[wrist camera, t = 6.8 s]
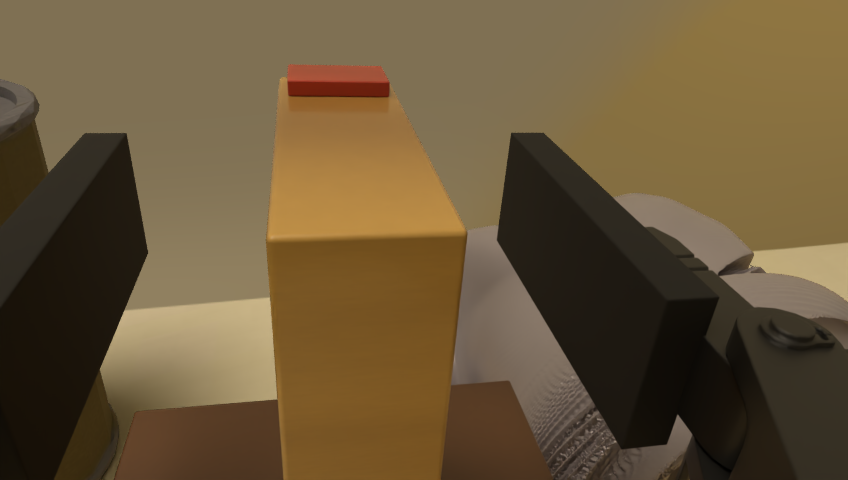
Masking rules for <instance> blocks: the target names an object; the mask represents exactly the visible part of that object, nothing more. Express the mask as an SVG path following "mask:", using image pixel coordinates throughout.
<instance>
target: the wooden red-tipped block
mask: <svg viewBox="0 0 848 480" xmlns="http://www.w3.org/2000/svg"><path fill="white" fill-rule="evenodd" d="M467 235H468V233H467V230H466V228H465V226H464V224H463V222H462V220H461V219H460V217H459V215H458V213H457V211H456V209H455V207H454V205H453V203H452V201H451V199H450V197H449V195H448V194H447V192H446V190H445V188H444V186H443V184H442V182H441V180H440V178H439V176H438V174H437V173H436V171H435V169H434V167H433V165H432V163H431V161H430V159H429V157H428V156H427V154H426V152H425V150H424V148H423V146H422V144H421V142H420V140H419V138H418V136H417V135H416V132H415V131H414V129H413V127H412V125H411V123H410V121H409V119H408V118H407V115H406V113H405V111H404V109H403V107H402V106H401V104H400V102H399V100H398V98H397V96H396V94H395V92H394V90H393V88H392V86H391V85H390V82H389V80H388V78H387V77H386V75H385V73H384V71H383V69H382V67H381V66H335V65H332V66H331V65H288V76H287V77H283V78H280V81H279V91H278V104H277V115H276V127H275V140H274V151H273V163H272V175H271V187H270V198H269V211H268V222H267V234H266V248H267V261H268V275H269V288H270V302H271V316H272V330H273V344H274V357H275V371H276V385H277V399H278V412H279V426H280V440H281V453H282V467H283V480H441V473H442V464H443V455H444V445H445V436H446V427H447V418H448V409H449V400H450V390H451V381H452V372H453V363H454V354H455V345H456V336H457V326H458V317H459V308H460V299H461V290H462V281H463V272H464V262H465V253H466V244H467Z"/></svg>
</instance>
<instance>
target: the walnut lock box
mask: <svg viewBox="0 0 848 480" xmlns="http://www.w3.org/2000/svg"><path fill="white" fill-rule="evenodd" d="M114 480H283V467H282V453H281V440H280V426H279V412H278V400H266V401H254V402H242V403H230V404H218V405H206V406H194V407H182V408H170V409H158V410H147V411H137V412H135V414H134V417H133V420H132V423H131V426H130V429H129V433H128V436H127V439H126V442H125V446H124V449H123V452H122V455H121V458H120V462H119V465H118V468H117V471H116V474H115V478H114ZM441 480H554V479H553V476H552V474H551V472H550V470H549V467H548V465H547V463H546V461H545V459H544V456H543V454H542V452H541V450H540V447H539V445H538V443H537V441H536V438H535V436H534V434H533V432H532V430H531V427H530V425H529V423H528V421H527V418H526V416H525V414H524V412H523V409H522V407H521V405H520V403H519V401H518V398H517V396H516V394H515V392H514V389H513V387H512V385H511V383H510V381H508V380H506V381H494V382H482V383H470V384H458V385H451V390H450V400H449V409H448V418H447V427H446V436H445V445H444V455H443V464H442V473H441Z"/></svg>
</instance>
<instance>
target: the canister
mask: <svg viewBox="0 0 848 480" xmlns="http://www.w3.org/2000/svg"><path fill="white" fill-rule="evenodd" d="M38 111H39V103H38V101H37V99H36V97H35V95H34V93H33V92H31V91H30V90H29V89H27V88H26V87H24V86H22V85H18V84H15V83H12V82H9V81H5V80H2V79H0V227H1V226H2V224H3V223H4V222H5V221H6V220H7V219H8V218H9V217H10V216H11V214H12V213H13V212H14V211H15V210H16V209H17V208H18V207H19V206H20V204H21V203H22V202H23V201H24V200H25V199H26V198H27V197H28V196H29V195H30V193H31V192H32V191H33V190H34V189H35V188H36V187H37V186H38V185H39V183H40V182H41V181H42V180H43V179H44V178H45V177H46V176H47V175H48V169H47V165H46V161H45V157H44V153H43V150H42V146H41V142H40V138H39V135H38V131H37V127H36V123H35V117H36V115H37V113H38ZM118 437H119V425H118V421H117V417H116V414H115V413H114V411H113V409H112V407H111V405H110V404H109V403H108V400H107V396H106V392H105V388H104V384H103V380H102V376H101V373H100V370H99V372H98V375H97V377H96V380H95V382H94V384H93V387H92V389H91V392H90V394H89V396H88V399H87V401H86V404H85V406H84V409H83V411H82V413H81V416H80V418H79V421H78V423H77V425H76V428H75V430H74V433H73V435H72V437H71V440H70V442H69V445H68V447H67V449H66V452H65V454H64V457H63V459H62V462H61V464H60V466H59V469H58V471H57V474H56V476H55V478H54V480H100V479H101V477H102V476H103V474H104V473H105V471H106V470H107V468H108V467H109V465H110V463H111V461H112V459H113V456H114V454H115V452H116V447H117V442H118Z"/></svg>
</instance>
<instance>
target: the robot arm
mask: <svg viewBox="0 0 848 480" xmlns="http://www.w3.org/2000/svg"><path fill="white" fill-rule="evenodd" d="M497 242H498V243H499V245H500V247H501V248H502V250H503V252H504V253H505V255H506V257H507V258H508V260H509V262H510V263H511V265H512V267H513V268H514V270H515V272H516V274H517V275H518V277H519V279H520V280H521V282H522V284H523V285H524V287H525V289H526V290H527V292H528V294H529V295H530V297H531V299H532V300H533V302H534V304H535V305H536V307H537V309H538V310H539V312H540V314H541V315H542V317H543V319H544V320H545V322H546V324H547V325H548V327H549V329H550V331H551V332H552V334H553V336H554V337H555V339H556V341H557V342H558V344H559V346H560V347H561V349H562V351H563V352H564V354H565V356H566V357H567V359H568V361H569V362H570V364H571V366H572V367H573V369H574V371H575V372H576V374H577V376H578V377H579V379H580V381H581V382H582V384H583V386H584V387H585V389H586V391H587V393H588V394H589V396H590V398H591V399H592V401H593V403H594V404H595V406H596V408H597V409H598V411H599V413H600V414H601V416H602V418H603V419H604V421H605V423H606V424H607V426H608V428H609V429H610V431H611V433H612V434H613V436H614V438H615V439H616V441H617V443H618V444H619V446H620V448H621V450H623V449H632V448H641V447H650V446H659V445H667V443H668V440H669V437H670V435H671V432H672V429H673V426H674V423H675V421H676V418H677V415H678V416H679V417H680V418H681V420H682V421H683V422H684V424H685V425H686V426H687V428H688V429H689V430H690V432H691V433H692V437H691V439H690V442H689V445H688V447H687V450H686V452H685V455H684V458H683V460H682V463H681V466H680V468H679V471H678V473H677V476H676V479H675V480H689V479H690V480H848V349H844V347H843V345H842V344H841V343H840V342H839V341H838V339H837V338H836V337H835V336H834V335H833V334H832V333H831V332H830V331H828V330H827V329H825V328H824V327H822V326H821V325H819V324H817V323H816V322H814V321H812V320H810V319H807V318H805V317H803V316H801V315H798V314H796V313H793V312H789V311H785V310H781V309H777V308H766V307H755V308H754V307H753V306H752V305H751V304H750V303H749V302H748V301H746V300H745V299H744V298H743V297H742V296H741V295H740V294H739V293H737V292H736V291H735V290H734V289H733V288H732V287H731V286H729V285H728V284H727V283H726V282H725V281H724V280H723V279H722V278H720V277H719V276H718V275H717V274H716V273H715V272H714V271H712V270H709V269H708V268H709V267H708V266H707V265H706V264H705V263H703V262H702V261H701V260H700V259H699V258H695V257H694V254H693V253H692V252H691V251H690V250H689V249H688V248H686V247H685V246H684V245H683V244H682V243H681V242H680V241H679V240H677V239H676V238H674V237H672V236H670V235H668V234H666V233H664V232H662V231H660V230H658V229H656V228H654V227H644V226H643V225H642V224H641V223H640V222H639V221H638V220H636V219H635V218H634V217H633V216H632V215H631V214H630V213H629V212H628V211H627V210H626V209H625V208H624V207H622V206H621V205H620V204H619V203H618V202H617V201H616V200H615V199H614V198H613V197H612V196H611V195H609V193H607V192H606V191H605V190H604V189H603V188H602V187H601V186H600V185H599V184H598V183H597V182H596V181H595V180H593V179H592V178H591V177H590V176H589V175H588V174H587V173H586V172H585V171H584V170H582V168H581V167H580V166H578V165H577V164H576V163H575V162H574V161H573V160H572V159H571V158H570V157H569V156H568V155H567V154H566V153H564V152H563V151H562V150H561V149H560V148H559V147H558V146H557V145H556V144H555V143H554V142H553V141H551V139H549V138H548V137H547V136H546V135H545V134H544V133H511V139H510V146H509V153H508V161H507V169H506V175H505V183H504V190H503V197H502V205H501V212H500V219H499V226H498V234H497ZM147 254H148V250H147V244H146V239H145V233H144V228H143V222H142V216H141V211H140V205H139V200H138V195H137V190H136V183H135V178H134V172H133V167H132V161H131V156H130V150H129V145H128V139H127V134H126V133H85V134H84V135H83V136H82V137H81V138H80V139H79V140H78V141H77V142H76V144H75V145H74V146H73V147H72V148H71V149H70V150H69V151H68V153H66V155H65V156H64V157H63V158H62V159H61V160H60V161H59V162H58V163H57V165H56V166H55V167H54V168H53V169H52V170H51V171H50V172H49V173H48V175H47V176H46V177H45V178H44V179H43V180H42V181H41V182H40V183H39V185H38V186H37V187H36V188H35V189H34V190H33V191H32V192H31V193H30V195H29V196H28V197H27V198H26V199H25V200H24V201H23V202H22V203H21V204H20V206H19V207H18V208H17V209H16V210H15V211H14V212H13V213H12V214H11V216H10V217H9V218H8V219H7V220H6V221H5V222H4V223H3V224H2V226H1V227H0V480H54V478H55V476H56V474H57V471H58V469H59V466H60V464H61V462H62V459H63V457H64V454H65V452H66V449H67V447H68V445H69V442H70V440H71V437H72V435H73V433H74V430H75V428H76V425H77V423H78V421H79V418H80V416H81V413H82V411H83V409H84V406H85V404H86V401H87V399H88V396H89V394H90V392H91V389H92V387H93V384H94V382H95V380H96V377H97V375H98V372H99V370H100V368H101V365H102V363H103V360H104V358H105V356H106V353H107V351H108V348H109V346H110V343H111V341H112V339H113V336H114V334H115V331H116V329H117V327H118V324H119V322H120V319H121V317H122V315H123V312H124V310H125V307H126V305H127V303H128V300H129V297H130V295H131V293H132V290H133V288H134V286H135V283H136V281H137V278H138V276H139V273H140V271H141V269H142V266H143V264H144V262H145V259H146V257H147Z"/></svg>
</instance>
